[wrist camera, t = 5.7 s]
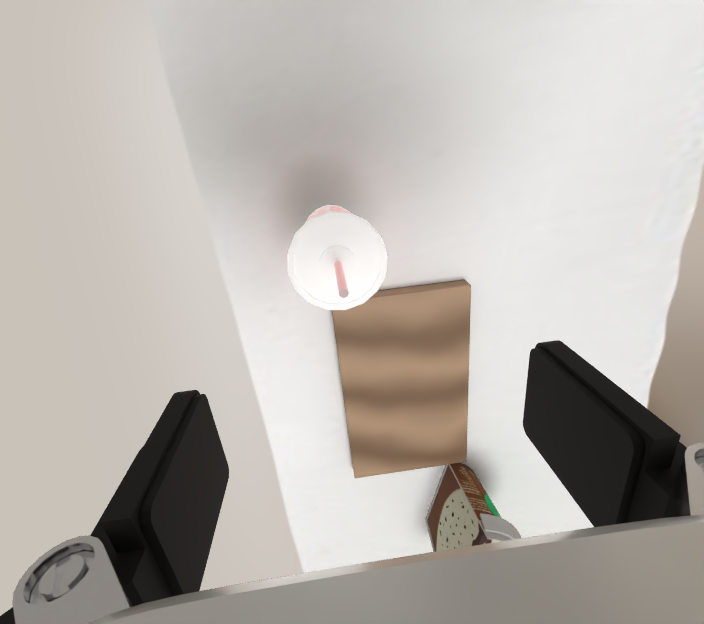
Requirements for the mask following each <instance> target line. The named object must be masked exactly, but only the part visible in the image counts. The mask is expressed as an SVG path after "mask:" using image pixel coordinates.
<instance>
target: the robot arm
mask: <svg viewBox="0 0 704 624" xmlns="http://www.w3.org/2000/svg"><path fill="white" fill-rule="evenodd" d="M523 427H524V430H525V433H526V435H527V436H528V438H529V439H530V440H531V442H532V443H533V444H534V446H535V447H536V448H537V450H538V451H539V452H540V454H541V455H542V457H543V458H544V459H545V461H546V462H547V463H548V465H549V466H550V467H551V469H552V470H553V471H554V473H555V474H556V476H557V477H558V478H559V480H560V481H561V482H562V484H563V485H564V486H565V488H566V489H567V490H568V492H569V493H570V495H571V496H572V497H573V499H574V500H575V501H576V503H577V504H578V505H579V507H580V508H581V509H582V511H583V512H584V514H585V515H586V516H587V518H588V519H589V520H590V522H591V523H592V524H593V526H594V527H593V528H587V529H580V530H574V531H567V532H560V533H554V534H547V535H541V536H534V537H528V538H521V539H514V540H508V541H501V542H495V543H488V544H482V545H476V546H469V547H463V548H457V549H450V550H444V551H438V552H431V553H425V554H419V555H412V556H406V557H400V558H394V559H387V560H381V561H375V562H368V563H362V564H356V565H350V566H344V567H338V568H332V569H326V570H320V571H314V572H308V573H301V574H296V575H290V576H284V577H277V578H271V579H266V580H259V581H253V582H248V583H242V584H237V585H231V586H226V587H220V588H215V589H209V590H204V591H199V590H200V586H201V582H202V578H203V574H204V571H205V567H206V563H207V559H208V555H209V552H210V548H211V544H212V540H213V536H214V532H215V528H216V524H217V521H218V517H219V513H220V509H221V505H222V502H223V498H224V494H225V490H226V486H227V482H228V478H229V468H228V464H227V460H226V457H225V454H224V451H223V447H222V444H221V441H220V438H219V435H218V431H217V428H216V425H215V422H214V419H213V415H212V412H211V409H210V406H209V403H208V399H207V397H206V395H205V394H201V395H200V393H199V392H198V391H197V390H192V391H184V392H177V393H175V394H174V395H173V396H172V398H171V399H170V401H169V403H168V405H167V406H166V408H165V410H164V412H163V413H162V415H161V417H160V419H159V421H158V422H157V424H156V426H155V428H154V429H153V431H152V433H151V434H150V437H149V438H148V440H147V441H146V443H145V445H144V447H142V448H141V450H140V451H139V452H138V454H137V456H136V458H135V459H134V461H133V463H132V464H131V466H130V468H129V470H128V471H127V473H126V475H125V477H124V478H123V480H122V482H121V484H120V485H119V487H118V489H117V490H116V492H115V494H114V496H113V497H112V499H111V501H110V503H109V504H108V506H107V508H106V509H105V511H104V513H103V515H102V516H101V518H100V520H99V522H98V523H97V525H96V527H95V528H94V530H93V532H92V534H91V535H90V536H79V537H76V538H73V539H70V540H67V541H65V542H63V543H61V544H59V545H57V546H55V547H53V548H52V549H51V550H49V551H48V552H46V553H45V554H44V555H42V556H41V557H40V558H39V559H38V560H37V561H36V562H35V563H34V564H33V565H32V566H30V567H29V568H28V570H27V571H26V572H25V574H24V575H23V576H22V578H21V579H20V580H19V582H18V585H17V587H16V589H15V591H14V595H13V607H12V608H11V609H10V610H8V611H7V612H5V613H4V614H3V615H1V616H0V624H704V443H697V444H693V445H691V446H690V447H688V448H686V447H685V446H684V445H683V444H681V443H680V442H679V439H680V434H678V433H677V432H676V431H674V430H673V429H672V428H671V427H669V426H668V425H667V424H666V423H664V422H663V421H662V420H660V419H659V418H658V417H657V416H655V415H654V414H653V413H652V412H650V411H649V410H648V409H646V408H645V407H644V406H643V405H641V404H640V403H639V402H638V401H636V400H635V399H634V398H632V397H631V396H630V395H629V394H627V393H626V392H625V391H624V390H622V389H621V388H620V387H618V386H617V385H616V384H615V383H613V382H612V381H611V380H610V379H608V378H607V377H606V376H604V375H603V374H602V373H601V372H599V371H598V370H597V369H596V368H594V367H593V366H592V365H591V364H589V363H588V362H587V361H585V360H584V359H583V358H582V357H580V356H579V355H578V354H577V353H575V352H574V351H573V350H571V349H570V348H569V347H568V346H566V345H565V344H564V343H563V342H561V341H550V342H542V343H538V344H537V345H536V347H535V349H532V350H531V352H530V358H529V368H528V378H527V388H526V398H525V408H524V418H523Z"/></svg>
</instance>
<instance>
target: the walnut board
mask: <svg viewBox="0 0 704 624" xmlns="http://www.w3.org/2000/svg"><path fill="white" fill-rule="evenodd" d="M470 303H471V285H470V284H469V283H468V282H467V281H465V280H459V281H451V282H443V283H435V284H428V285H420V286H412V287H404V288H396V289H388V290H381V291H377V292H376V293H375V294H374V295H373V296H371V297H370V298H369V299H368V300H367V301H366V302H365V303H363V304H361V305H358V306H355V307H353V308H350V309H347V310H332V313H333V321H334V328H335V336H336V343H337V350H338V358H339V365H340V373H341V380H342V388H343V395H344V403H345V410H346V418H347V425H348V433H349V440H350V448H351V455H352V463H353V470H354V478H360V477H367V476H373V475H380V474H387V473H394V472H400V471H407V470H414V469H421V468H427V467H434V466H441V465H447V464H454V463H461V462H466V454H467V416H468V378H469V341H470Z"/></svg>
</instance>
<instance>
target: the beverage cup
mask: <svg viewBox="0 0 704 624" xmlns="http://www.w3.org/2000/svg"><path fill="white" fill-rule="evenodd" d="M387 258H388V255H387V252H386V249H385V246H384V243H383V240H382V237H381V236H380V234H379V233H378V232H377V231H376V230H375V229H374V228H373V227H372V226H371V224H370V223H369V222H368V221H367V220H365V219H363V218H361V217H358V216H356V215H354V214H352V213H351V212H350V211H349V210H347V209H345V208H343V207H340V206H338V205H325V206H323V207H320V208H318V209H316V210H315V211H314V212H313V213H312V214H311V215H310V216H309V217H308V218H307V220H306V222H305V224H304V225H303V226H302V227H301V228H300V229H299V230H298V231H297V232H296V233H295V235H294V238H293V240H292V242H291V245H290V247H289V250H288V252H287V265H288V275H289V277H290V279H291V281H292V283H293V286H294V288H295V290H296V291H297V292H298V293H299V294H300V295H301V296H302V297H303V298H305V299H306V300H307V301H308V302H309V303H311V304H313V305H316V306H318V307H321V308H323V309H326V310H347V309H350V308H353V307H355V306H358V305H361V304H363V303H365V302H366V301H367V300H368V299H369V298H370V297H371V296H373V295H374V294H375V293H376V292H377V291H378V289H379V287H380V285H381V283H382V282H383V280H384V278H385V276H386V271H387Z"/></svg>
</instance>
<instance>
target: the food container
mask: <svg viewBox="0 0 704 624" xmlns="http://www.w3.org/2000/svg"><path fill="white" fill-rule="evenodd" d="M426 523H427V527H428V532H429V536H430V540H431V544H432V548H433V552H438V551H444V550H450V549H457V548H463V547H469V546H476V545H482V544H488V543H495V542H501V541H508V540H514V539H521V536H520V534H519V532H518V531H517V529H516V528H515V527H514V526H513V525H512V524H510V523H509V522H508V521H506V520H504V519H502V518H501V516H500V514H499V513H498V511H497V509H496V508H495V506H494V505H493V503H492V501H491V500H490V498H489V496H488V495H487V493H486V491H485V490H484V488H483V487H482V485H481V483H480V482H479V480H478V478H477V477H476V475H475V474H474V472H473V471H472V470H471V469H470V468H469V467H468V466H466V465H464V464H462V463H454V464H447V465H445V468H444V471H443V473H442V476H441V479H440V481H439V484H438V487H437V490H436V492H435V495H434V498H433V500H432V503H431V506H430V508H429V511H428V514H427V516H426Z"/></svg>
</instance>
